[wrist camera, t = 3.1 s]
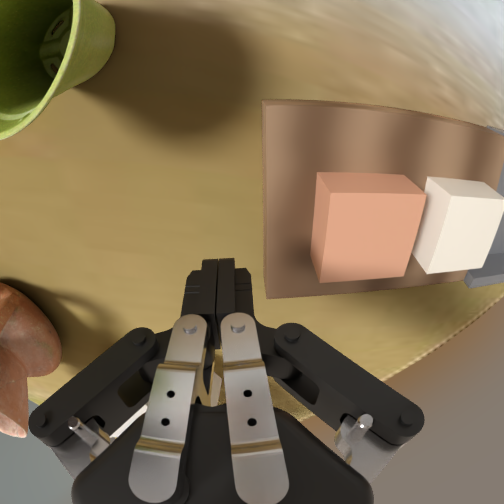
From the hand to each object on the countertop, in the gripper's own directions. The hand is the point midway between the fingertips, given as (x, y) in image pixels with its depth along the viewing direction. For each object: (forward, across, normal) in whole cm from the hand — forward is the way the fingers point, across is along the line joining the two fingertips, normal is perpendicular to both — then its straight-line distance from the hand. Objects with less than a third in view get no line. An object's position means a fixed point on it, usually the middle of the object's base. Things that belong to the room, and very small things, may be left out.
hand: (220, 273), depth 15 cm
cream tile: (+5, -17, 0) cm, 17 cm away
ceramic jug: (+9, +26, +12) cm, 30 cm away
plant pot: (+9, +9, -13) cm, 18 cm away
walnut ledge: (+8, -12, 0) cm, 15 cm away
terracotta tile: (+5, -9, 0) cm, 10 cm away
